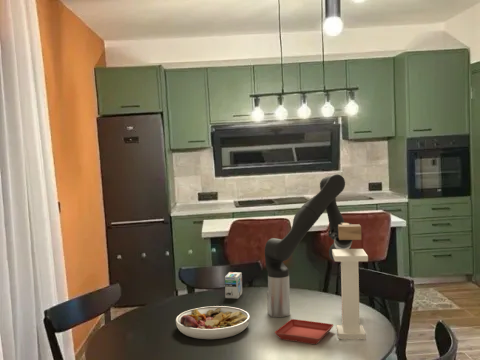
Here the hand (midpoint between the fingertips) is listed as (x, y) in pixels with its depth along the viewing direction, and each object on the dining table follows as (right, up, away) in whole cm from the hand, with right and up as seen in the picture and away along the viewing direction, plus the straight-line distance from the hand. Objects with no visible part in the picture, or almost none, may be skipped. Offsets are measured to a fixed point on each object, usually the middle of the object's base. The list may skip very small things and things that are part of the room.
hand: (346, 225), depth 208 cm
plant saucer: (-18, -42, -8) cm, 47 cm away
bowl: (-54, -43, +4) cm, 69 cm away
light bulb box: (-46, -40, +51) cm, 79 cm away
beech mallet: (0, -3, -4) cm, 5 cm away
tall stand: (0, -41, -8) cm, 42 cm away
